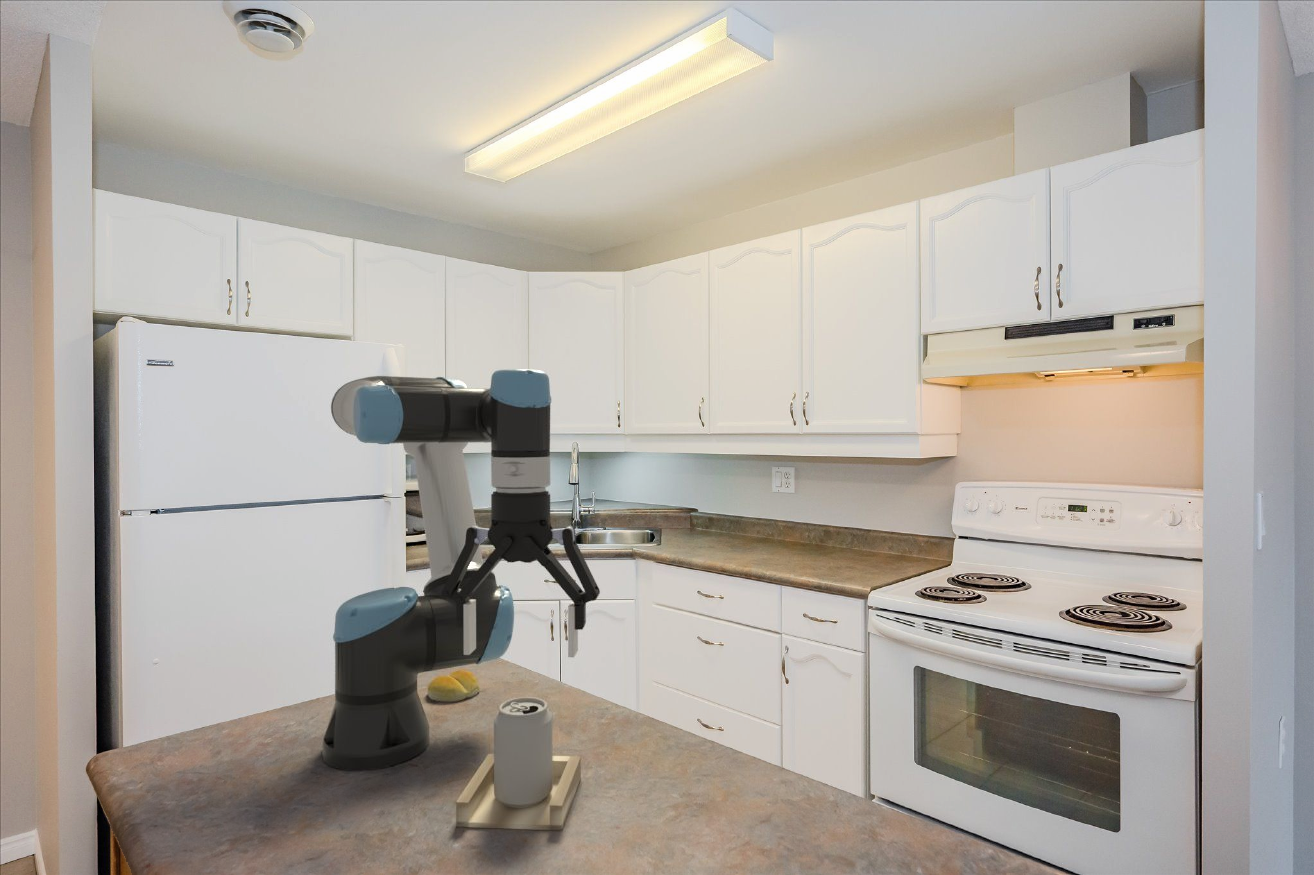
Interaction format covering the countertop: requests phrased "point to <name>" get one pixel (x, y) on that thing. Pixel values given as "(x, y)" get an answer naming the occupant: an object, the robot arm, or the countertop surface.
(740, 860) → the countertop surface
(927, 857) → the countertop surface
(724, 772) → the countertop surface
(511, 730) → the can
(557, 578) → the robot arm
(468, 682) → the bread roll
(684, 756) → the countertop surface
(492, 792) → the can rest
